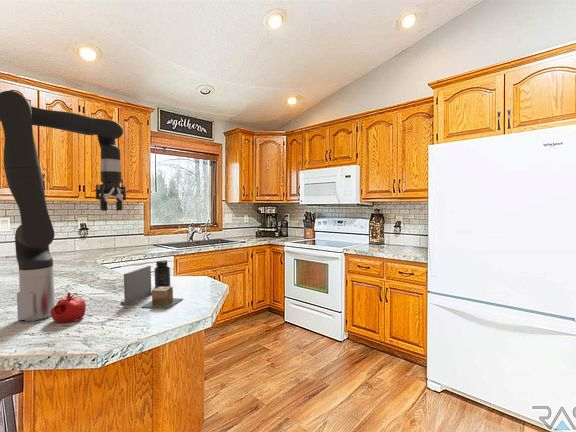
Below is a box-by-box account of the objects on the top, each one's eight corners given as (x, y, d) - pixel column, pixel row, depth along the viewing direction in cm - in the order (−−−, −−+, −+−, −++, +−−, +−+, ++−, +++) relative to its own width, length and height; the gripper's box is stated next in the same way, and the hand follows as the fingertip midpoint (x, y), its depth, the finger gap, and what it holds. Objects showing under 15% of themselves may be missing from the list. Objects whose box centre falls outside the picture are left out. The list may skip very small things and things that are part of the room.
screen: (132, 305, 119) (131, 274, 118) (120, 304, 119) (119, 273, 119) (155, 293, 135) (154, 265, 134) (144, 292, 135) (144, 265, 135)
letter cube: (165, 305, 117) (165, 290, 117) (152, 304, 118) (151, 289, 118) (173, 300, 122) (172, 286, 122) (160, 300, 123) (159, 286, 123)
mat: (168, 308, 114) (168, 307, 114) (141, 307, 116) (141, 306, 115) (182, 299, 125) (182, 298, 125) (157, 298, 126) (157, 297, 126)
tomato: (80, 312, 111) (80, 287, 111) (91, 318, 105) (90, 291, 105) (46, 320, 104) (46, 292, 104) (55, 327, 97) (55, 297, 97)
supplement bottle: (173, 284, 149) (172, 259, 148) (166, 288, 142) (165, 262, 142) (159, 284, 150) (158, 259, 149) (151, 288, 143) (151, 262, 142)
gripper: (106, 168, 119) (107, 210, 120) (130, 172, 133) (131, 210, 134) (89, 169, 121) (90, 210, 121) (115, 173, 135) (116, 210, 135)
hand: (112, 210), depth 128 cm, fingers open, 8 cm apart
